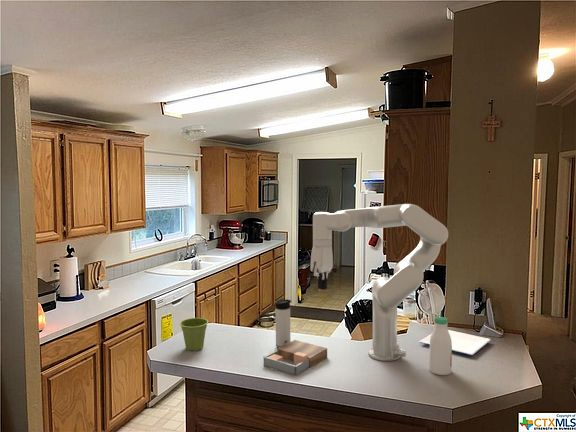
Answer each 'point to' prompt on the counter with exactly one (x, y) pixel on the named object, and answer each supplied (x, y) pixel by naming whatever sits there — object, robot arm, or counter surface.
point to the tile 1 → (276, 357)
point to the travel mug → (282, 322)
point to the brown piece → (312, 351)
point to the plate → (463, 342)
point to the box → (285, 365)
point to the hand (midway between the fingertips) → (322, 288)
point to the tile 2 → (299, 358)
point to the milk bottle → (440, 348)
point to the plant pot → (194, 332)
